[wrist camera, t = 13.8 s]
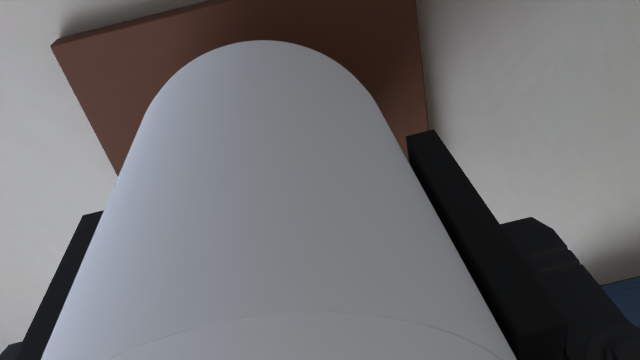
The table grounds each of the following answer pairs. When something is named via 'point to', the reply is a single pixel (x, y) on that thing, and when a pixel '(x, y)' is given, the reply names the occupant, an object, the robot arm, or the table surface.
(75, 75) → the pad
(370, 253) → the pill bottle
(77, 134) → the table surface
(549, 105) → the table surface
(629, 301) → the bin
